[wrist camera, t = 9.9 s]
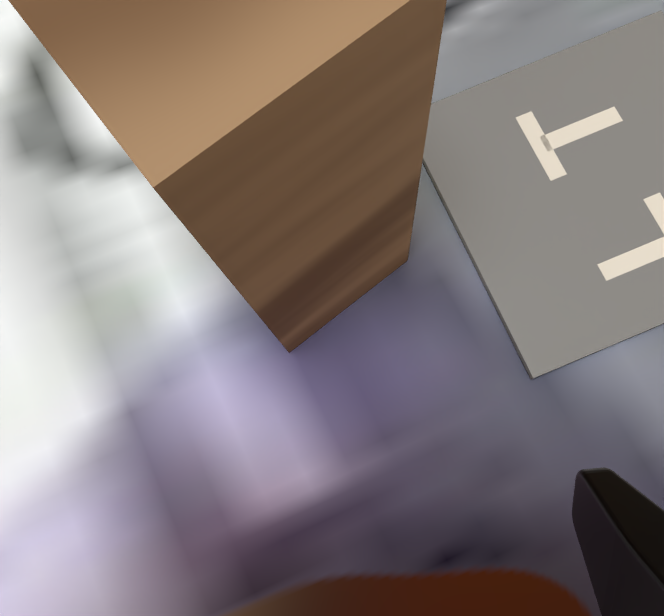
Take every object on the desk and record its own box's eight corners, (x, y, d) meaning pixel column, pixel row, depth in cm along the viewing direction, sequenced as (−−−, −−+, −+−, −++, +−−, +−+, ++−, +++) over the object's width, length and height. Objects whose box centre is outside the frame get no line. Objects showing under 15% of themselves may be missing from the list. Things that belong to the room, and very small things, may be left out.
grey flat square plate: (817, 258, 19) (824, 255, 19) (530, 379, 19) (533, 378, 19) (657, 16, 22) (661, 9, 22) (401, 120, 22) (402, 115, 21)
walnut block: (407, 260, 20) (450, -31, 8) (288, 352, 20) (153, 187, 8) (316, 156, 22) (238, -230, 9) (202, 241, 21) (-32, -52, 9)
